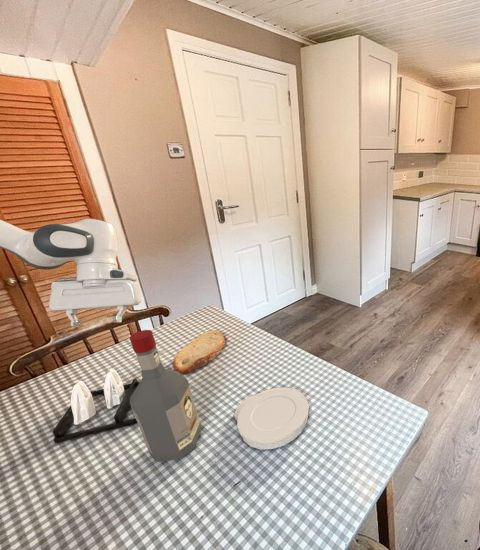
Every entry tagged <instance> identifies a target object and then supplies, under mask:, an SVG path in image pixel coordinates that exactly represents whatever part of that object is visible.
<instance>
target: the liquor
mask: <svg viewBox="0 0 480 550" xmlns="http://www.w3.org/2000/svg"><path fill="white" fill-rule="evenodd" d="M129 341H130V344H131V346H132V349H133V352H134V353H135V355H136V358H137V361H138V364H139V367H140V370H141V380H140V381H139V382H140V383H139V385H138V386H137V388H136V389H135V391H134V392H133V394H132V396H131V397H130V405H131V406H130V407H131V410H132V413H133V415H134V418H136V420H137V425H138V427H139V430H140V433H141V435H142V437H143V440H144V443H145V445H146V448H147V450H148V453H149V455H150V456H151V458H152V459H153V460H154V461H155V462H157V463H160V462H168V461H174V460H182V459H183V458H185V457H187V456H188V455H190V453H192V452H193V451H194V449H195V446H196V445H197V442H198V439H199V438H200V435H201V432H202V430H203V428H202V425H201V422H200V421H201V420H200V418H199V415H198V411H197V408H196V405H195V401H194V398H193V394H192V390H191V387H190V383H189V381H188V378H186V377H185V376H184V375H183V374H181V373H179V372H177V371H175V370H174V369H169V368H166V367H165V366H164V365H163V363H162V361H161V357H160V354H159V352H158V349H157V343H156V339H155V337H154V334H153V331H152V330H150V329H142V330H139V331H136V332H134V333H133V334H131V335H130V337H129Z"/></svg>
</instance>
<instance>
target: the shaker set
mask: <svg viewBox="0 0 480 550" xmlns="http://www.w3.org/2000/svg"><path fill="white" fill-rule="evenodd" d="M123 385H124V382H123V380H122V379H121V377H120V375H119V373H118V372H117V370H116V369H114V368H111V369H109V371H108V372H107V373H106V376H105V380H104V383H103V389H104V394H103V395H104V399H105V404H106V409H107V410H108V409H109V410H110V409H112V408H113V407H115V406H117V405H120V404H121V402H122V400H123V398H124V396H125V394H126V392H125V390H124V387H123ZM93 397H94V396H92V394H91V391H90V389H89V387H88V386H87V385H86V383H85V382H84V381H83V380H78V381H77V383H75V384H74V385H73V388H72V392H71V396H70V406H71V407H72V412H73V416H74V421H73V425H77V426H78V425H80V424H82V423H84V422H86V421H88V420H89V419H91V418H92V417H93V416H95V415H97V411H96V404H95V402H94V401H95V400H94V398H93Z"/></svg>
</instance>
